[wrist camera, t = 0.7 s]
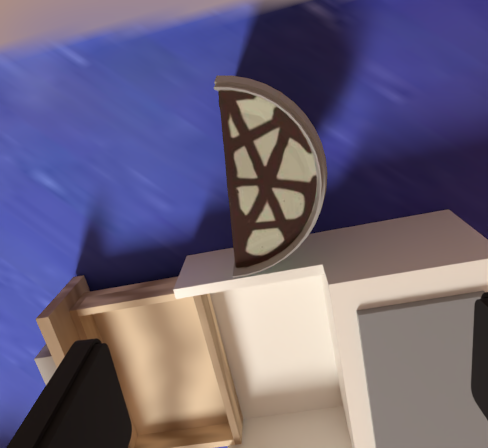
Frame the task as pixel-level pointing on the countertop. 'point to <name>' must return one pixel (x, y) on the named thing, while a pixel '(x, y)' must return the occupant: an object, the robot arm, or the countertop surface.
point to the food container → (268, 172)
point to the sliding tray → (152, 359)
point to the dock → (354, 336)
